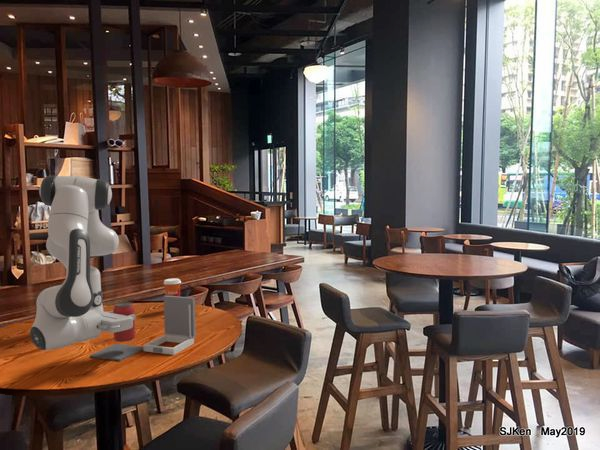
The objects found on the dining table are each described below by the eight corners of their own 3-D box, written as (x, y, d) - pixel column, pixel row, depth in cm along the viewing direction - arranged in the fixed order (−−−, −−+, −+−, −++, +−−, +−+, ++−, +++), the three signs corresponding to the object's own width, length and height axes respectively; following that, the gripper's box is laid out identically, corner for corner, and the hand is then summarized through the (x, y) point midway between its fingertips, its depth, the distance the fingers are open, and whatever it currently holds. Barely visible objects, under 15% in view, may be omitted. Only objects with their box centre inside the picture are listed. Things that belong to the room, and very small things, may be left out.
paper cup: (161, 312, 207) (160, 281, 206) (168, 308, 215) (167, 277, 214) (177, 313, 206) (176, 281, 205) (185, 308, 214) (184, 278, 213)
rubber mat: (90, 357, 152) (90, 355, 152) (116, 345, 163) (116, 343, 163) (120, 361, 148) (120, 359, 148) (144, 348, 159) (144, 347, 159)
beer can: (128, 342, 152) (127, 306, 152) (110, 342, 153) (108, 305, 153) (138, 336, 159) (137, 301, 158) (120, 335, 160) (119, 301, 159)
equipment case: (141, 351, 156) (140, 304, 155) (167, 339, 170) (165, 295, 168) (172, 355, 152) (170, 307, 151) (195, 342, 166) (194, 297, 164)
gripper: (108, 319, 139) (146, 309, 151) (68, 310, 150) (106, 302, 162) (109, 340, 139) (147, 328, 151) (69, 330, 150) (107, 320, 162)
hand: (126, 314), depth 156 cm, fingers closed on beer can, 7 cm apart
